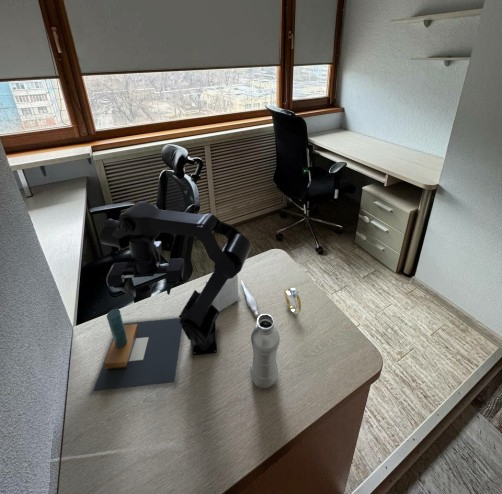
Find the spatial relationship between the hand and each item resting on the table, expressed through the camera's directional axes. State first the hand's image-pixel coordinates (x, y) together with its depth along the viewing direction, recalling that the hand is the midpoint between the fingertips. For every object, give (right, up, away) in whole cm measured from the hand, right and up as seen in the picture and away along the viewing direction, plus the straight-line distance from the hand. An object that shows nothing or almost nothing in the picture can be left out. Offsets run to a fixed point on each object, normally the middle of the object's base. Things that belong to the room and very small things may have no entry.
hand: (151, 294), depth 74 cm
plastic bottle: (+31, -17, -7) cm, 36 cm away
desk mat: (-2, -15, -1) cm, 15 cm away
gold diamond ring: (+40, -10, +10) cm, 42 cm away
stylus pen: (+25, -8, +10) cm, 28 cm away
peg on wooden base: (-7, -14, -1) cm, 16 cm away
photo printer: (+18, -9, +12) cm, 24 cm away
